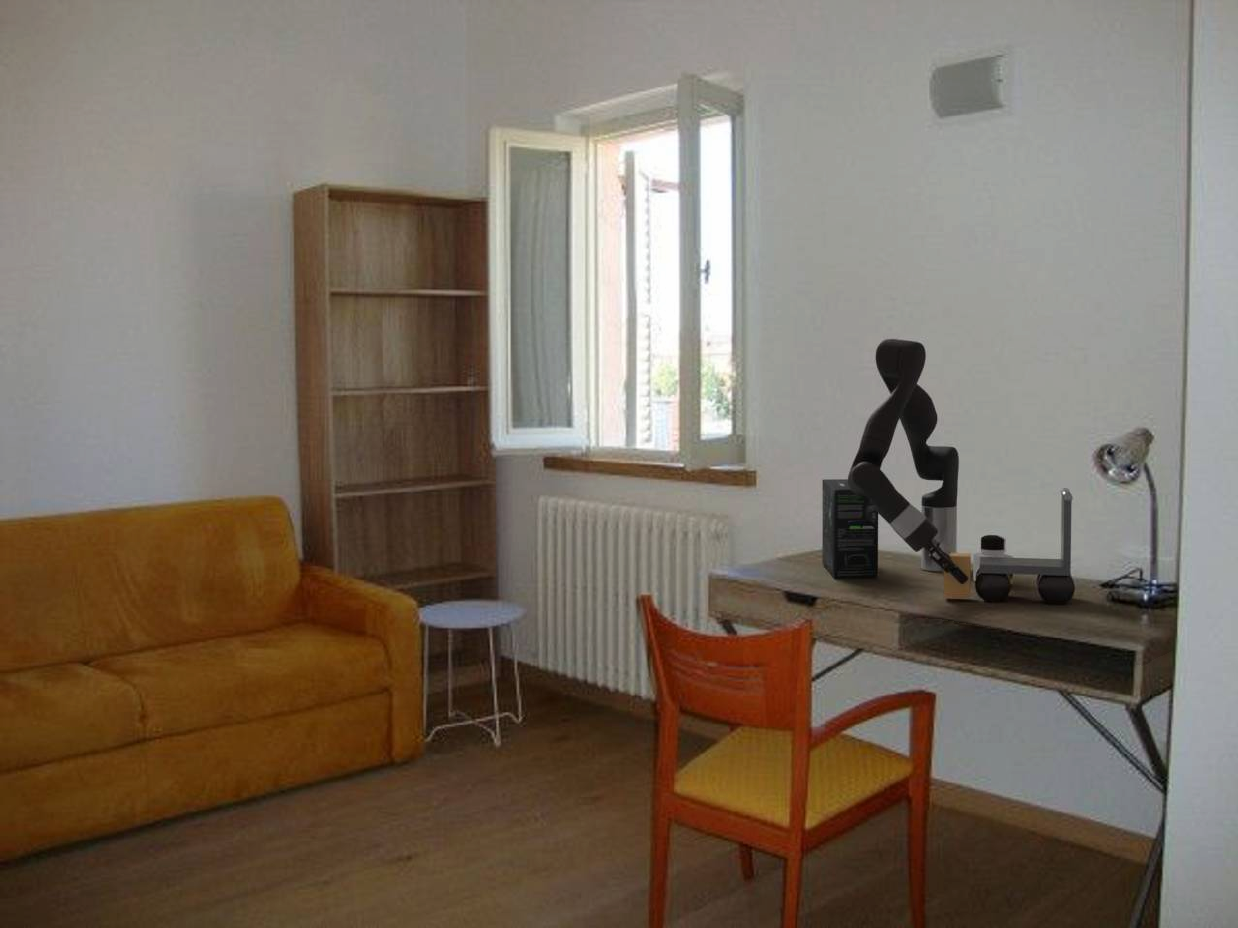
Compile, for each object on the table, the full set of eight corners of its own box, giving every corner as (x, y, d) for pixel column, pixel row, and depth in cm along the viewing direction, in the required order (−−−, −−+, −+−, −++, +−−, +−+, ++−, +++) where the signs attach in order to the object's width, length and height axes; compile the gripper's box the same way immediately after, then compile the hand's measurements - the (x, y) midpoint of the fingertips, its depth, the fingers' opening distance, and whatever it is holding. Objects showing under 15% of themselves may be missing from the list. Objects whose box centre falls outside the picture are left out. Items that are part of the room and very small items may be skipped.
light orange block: (944, 593, 294) (944, 552, 293) (970, 594, 292) (970, 553, 291) (943, 597, 290) (943, 555, 289) (970, 598, 288) (970, 556, 287)
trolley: (975, 592, 299) (976, 486, 297) (1071, 596, 293) (1073, 487, 290) (974, 602, 288) (975, 492, 285) (1074, 606, 281) (1076, 493, 279)
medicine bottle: (988, 586, 307) (988, 538, 306) (972, 581, 314) (973, 534, 313) (1013, 584, 309) (1013, 536, 308) (997, 579, 316) (997, 533, 315)
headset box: (879, 578, 320) (879, 480, 317) (833, 579, 320) (833, 481, 318) (864, 564, 342) (864, 471, 340) (821, 564, 342) (820, 472, 340)
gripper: (923, 520, 285) (977, 574, 282) (926, 512, 298) (978, 563, 296) (899, 542, 287) (953, 596, 284) (904, 533, 300) (955, 584, 298)
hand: (965, 579), depth 290 cm, fingers closed on light orange block, 4 cm apart
